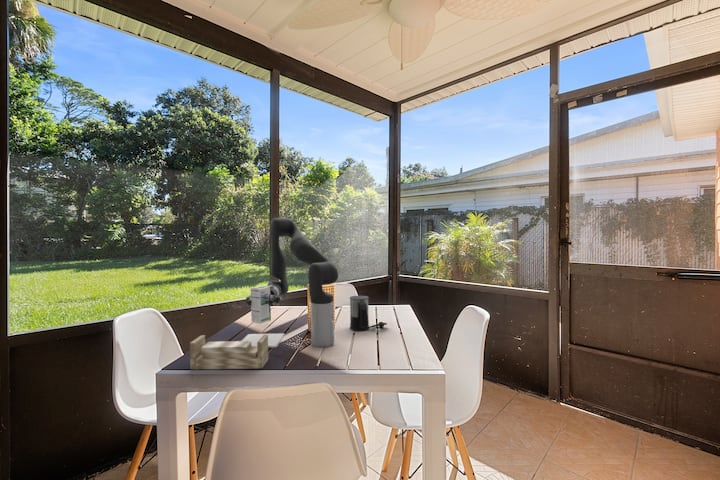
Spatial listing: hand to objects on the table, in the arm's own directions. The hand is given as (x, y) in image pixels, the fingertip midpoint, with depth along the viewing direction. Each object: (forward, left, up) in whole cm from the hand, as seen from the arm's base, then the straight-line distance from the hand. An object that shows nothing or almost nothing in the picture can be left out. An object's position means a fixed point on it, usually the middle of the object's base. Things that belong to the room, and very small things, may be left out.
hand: (259, 302), depth 138 cm
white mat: (0, -2, -17) cm, 17 cm away
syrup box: (0, -2, -8) cm, 9 cm away
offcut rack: (+4, +22, -17) cm, 28 cm away
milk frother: (-46, -18, -17) cm, 52 cm away
